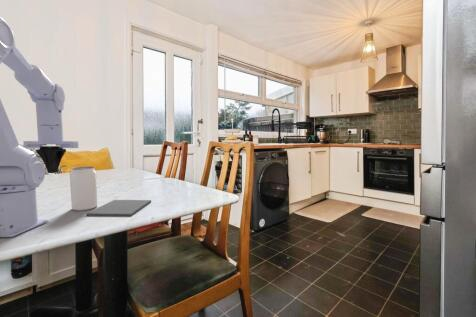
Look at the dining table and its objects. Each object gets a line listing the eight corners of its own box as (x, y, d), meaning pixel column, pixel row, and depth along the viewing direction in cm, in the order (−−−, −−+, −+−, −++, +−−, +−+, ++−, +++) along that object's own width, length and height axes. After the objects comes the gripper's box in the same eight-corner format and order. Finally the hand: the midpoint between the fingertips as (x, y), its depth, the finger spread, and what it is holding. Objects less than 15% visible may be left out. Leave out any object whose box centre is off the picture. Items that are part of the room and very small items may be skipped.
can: (85, 211, 66) (83, 169, 65) (66, 210, 67) (63, 168, 66) (102, 205, 72) (101, 166, 71) (84, 204, 74) (83, 166, 73)
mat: (131, 216, 63) (131, 213, 63) (86, 215, 63) (86, 213, 63) (151, 201, 77) (151, 200, 77) (114, 201, 77) (114, 199, 77)
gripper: (84, 126, 72) (86, 171, 73) (37, 126, 72) (40, 170, 73) (67, 125, 65) (69, 174, 66) (15, 125, 65) (18, 174, 66)
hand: (52, 172), depth 69 cm, fingers closed
